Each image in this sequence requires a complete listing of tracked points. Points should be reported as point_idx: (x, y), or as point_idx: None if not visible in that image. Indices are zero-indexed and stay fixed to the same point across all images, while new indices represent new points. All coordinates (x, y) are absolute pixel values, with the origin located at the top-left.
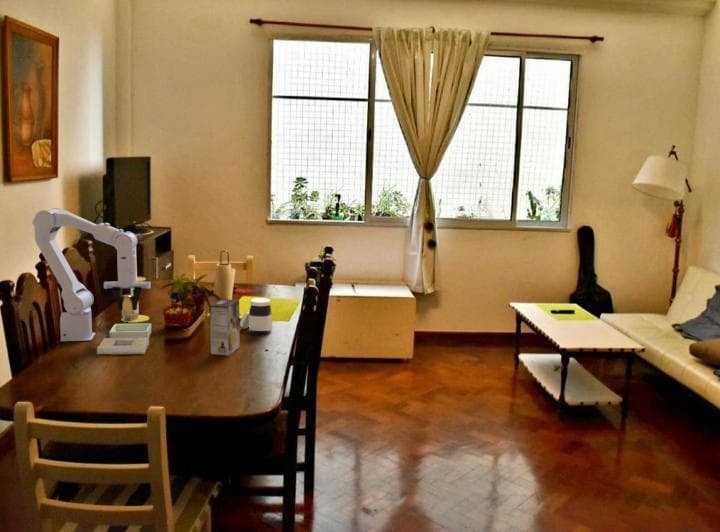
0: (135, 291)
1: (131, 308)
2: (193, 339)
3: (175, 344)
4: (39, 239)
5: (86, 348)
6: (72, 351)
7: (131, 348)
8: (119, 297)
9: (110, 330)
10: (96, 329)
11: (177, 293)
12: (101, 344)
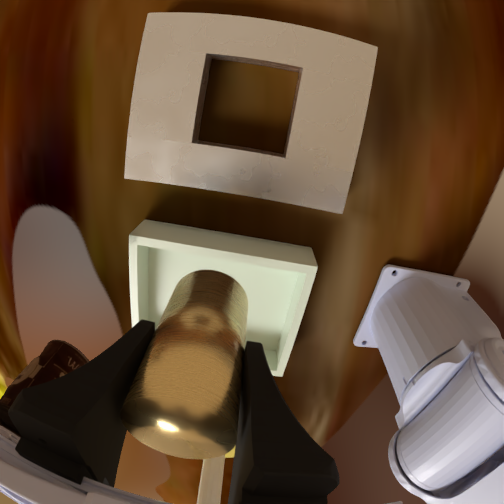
0: (47, 413)
1: (164, 325)
2: (5, 200)
3: (44, 143)
4: None
5: (408, 164)
6: (455, 142)
7: (207, 13)
8: (253, 417)
9: (308, 294)
10: (338, 386)
11: (20, 434)
12: (359, 106)
